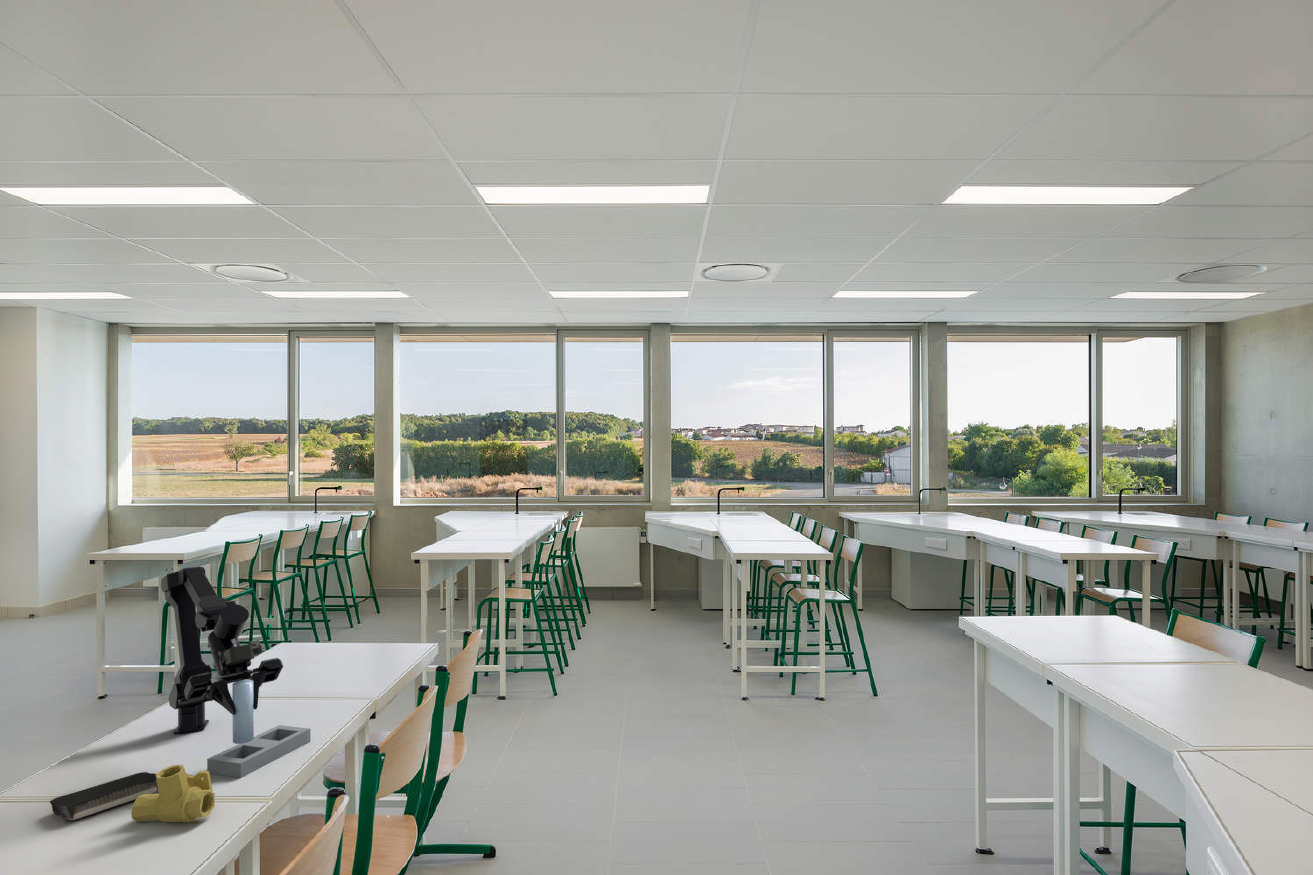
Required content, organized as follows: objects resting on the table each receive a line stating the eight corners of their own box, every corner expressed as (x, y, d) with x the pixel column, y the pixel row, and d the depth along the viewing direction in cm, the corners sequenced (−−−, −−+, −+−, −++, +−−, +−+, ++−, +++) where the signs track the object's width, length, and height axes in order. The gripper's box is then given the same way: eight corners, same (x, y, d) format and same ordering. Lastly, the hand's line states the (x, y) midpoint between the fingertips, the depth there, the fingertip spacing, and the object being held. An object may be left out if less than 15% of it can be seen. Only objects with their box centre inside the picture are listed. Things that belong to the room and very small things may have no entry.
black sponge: (63, 828, 137) (63, 808, 137) (48, 815, 142) (48, 796, 142) (163, 794, 150) (163, 776, 150) (146, 784, 155) (146, 766, 155)
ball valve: (200, 831, 136) (232, 797, 146) (191, 778, 135) (224, 747, 145) (131, 836, 136) (168, 802, 146) (122, 783, 135) (160, 752, 145)
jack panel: (240, 777, 156) (240, 763, 156) (207, 772, 159) (207, 758, 159) (310, 741, 176) (310, 728, 176) (279, 737, 178) (279, 724, 178)
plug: (234, 738, 164) (234, 681, 164) (254, 735, 165) (254, 678, 165) (231, 744, 160) (230, 686, 160) (252, 742, 161) (251, 684, 161)
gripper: (188, 638, 158) (206, 701, 151) (279, 622, 172) (300, 679, 165) (176, 668, 164) (193, 731, 156) (266, 650, 178) (285, 707, 170)
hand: (245, 711), depth 162 cm, fingers closed on plug, 4 cm apart
